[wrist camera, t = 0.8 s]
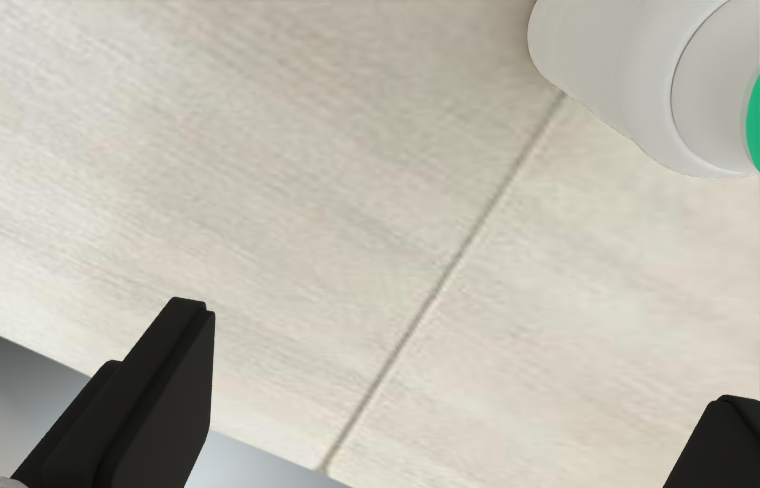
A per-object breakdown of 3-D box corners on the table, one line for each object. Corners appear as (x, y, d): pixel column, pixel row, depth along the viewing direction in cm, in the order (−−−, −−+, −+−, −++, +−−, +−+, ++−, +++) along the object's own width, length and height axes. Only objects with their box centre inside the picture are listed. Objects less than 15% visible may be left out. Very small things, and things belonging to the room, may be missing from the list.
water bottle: (520, 89, 36) (702, 279, 13) (530, -36, 33) (790, -73, 10) (635, 88, 35) (1031, 281, 12) (655, -39, 32) (1228, -86, 9)
